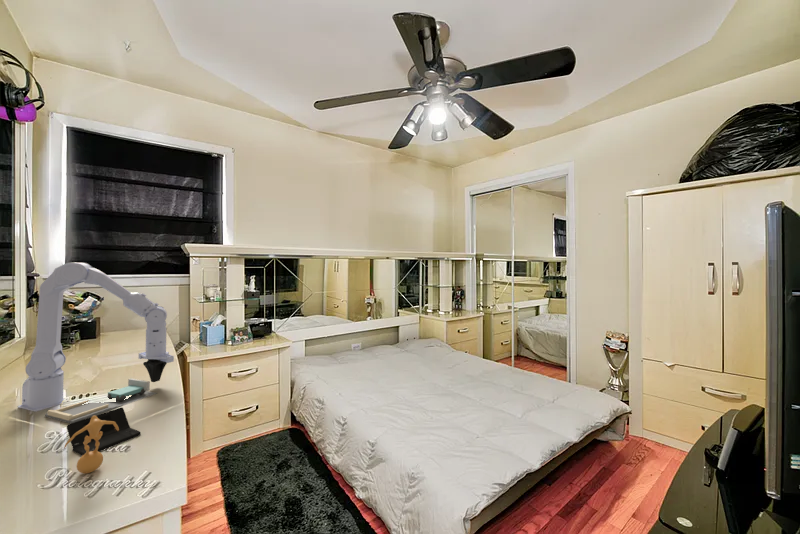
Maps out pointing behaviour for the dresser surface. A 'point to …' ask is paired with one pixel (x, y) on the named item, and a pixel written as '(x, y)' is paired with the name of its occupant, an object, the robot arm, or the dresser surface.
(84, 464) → the figurine
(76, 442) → the handheld gaming console
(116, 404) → the dock
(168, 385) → the dresser surface
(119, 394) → the grey teal-panelled part
